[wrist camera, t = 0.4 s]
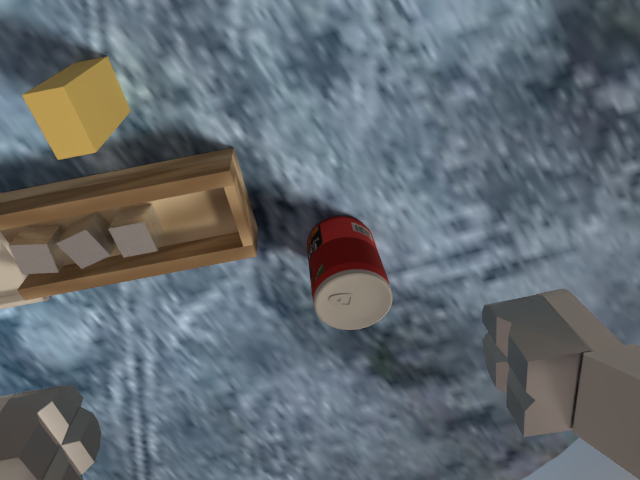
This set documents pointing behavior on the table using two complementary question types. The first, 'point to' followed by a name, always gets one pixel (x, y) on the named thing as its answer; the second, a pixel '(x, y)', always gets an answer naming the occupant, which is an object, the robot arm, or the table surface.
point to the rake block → (78, 107)
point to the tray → (11, 278)
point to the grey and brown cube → (39, 249)
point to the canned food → (347, 274)
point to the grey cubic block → (137, 230)
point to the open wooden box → (133, 191)
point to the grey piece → (87, 240)
